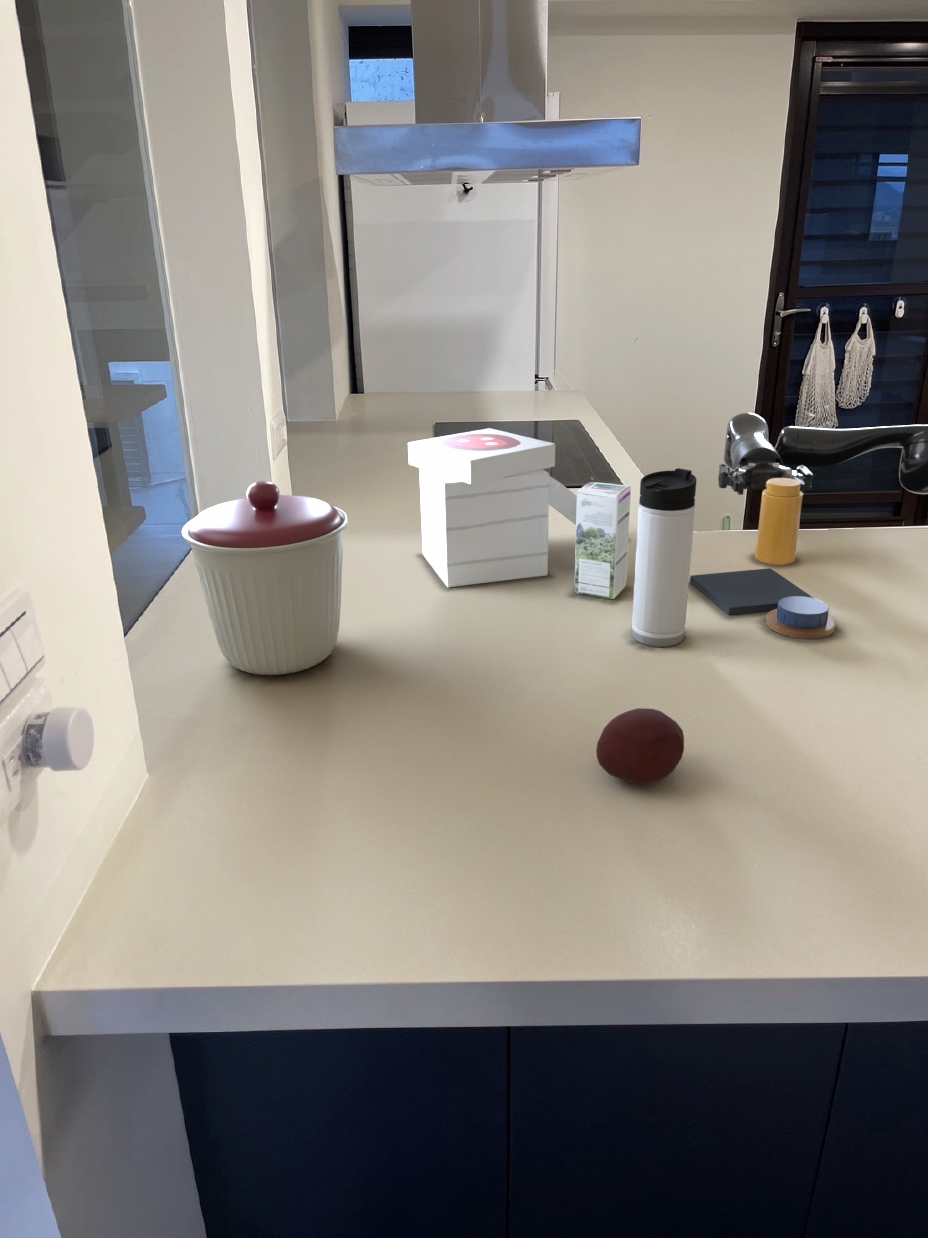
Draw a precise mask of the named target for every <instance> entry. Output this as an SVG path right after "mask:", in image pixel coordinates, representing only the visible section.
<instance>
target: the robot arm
mask: <svg viewBox="0 0 928 1238" xmlns="http://www.w3.org/2000/svg"><path fill="white" fill-rule="evenodd" d="M769 438H770V437H769V426H768V423H767V421H766V420H765V419H764V417H762V416H760V415H759V414H756V413H752V412H742V413H738V414H736V415H734V416H733V417H732V418H730V420H729V421H728V424H727V426H726V435H725V444H724V453H723V463H721V464H719V466H718V474H717V475H718V476H717V477H718V478H717V481H718V482H717V483H718V488H720V489H727V487H730V489H731V490H732V491H733V492H735V493H737V495H738V496H740V495H742V496H743V495H744V491H745V490H748V491H751V492H757V493H758V492H762V491H763V490H765V489H766V487H767V484H766V481H768V480H769V479H772V478H790V479H795V480H798V481H800V482H801V487H800V491H801V492H802V493H803V494H804V493H805V491H810V490H811V491H812V483H813V478H814V473H813V472H812V470H811V471H810V469H809V468H828V467H832V466H836V465H841V464H842V463H844V462H847V461H849V460H851V459H854V458H856V457H859V456H861V455H864V454H867V453H869V452H872V451H875V450H880V449H887V448H898V449H901V454H900V461H899V467H898V478H899V483H900V485H901V486H902V488H904V489H905V490H907V491H908V492H910V493H913V494H918V495H928V424H910V425H909V424H908V425H892V426H891V425H890V426H875V427H874V426H873V427H859V428H820V427H807V426H806V427H805V426H793V425H791V426H785V427H783V428H782V429H781V431H780V433H779V436H778V438H777V442H776V444H775V446H773V444H771V443H770V439H769ZM787 466H795V467H796V469H795V470H793V469H792V468H790V467H787Z"/></svg>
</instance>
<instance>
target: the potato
mask: <svg viewBox="0 0 928 1238" xmlns="http://www.w3.org/2000/svg"><path fill="white" fill-rule="evenodd" d="M684 751H685V735H684V731H683V729H682V728H681V726H680V725H679V724H678V722H677V720H675V719H673V718H671V717H670V716H669V715H667V714H665V713H664V712H663V711H661V710H658V709H655V708H647V707H646V708H645V707H644V708H643V707H641V708H639V707H638V708H633V709H630V710H627V711H625V712H622V713H620V714H618V715H616V716H615V717H614V718H612V719H611V720H610V721H609V722H608V723H607V724H605V726H604V727H603V729H602V731H601V734H600V736H599V738H598V740H597V743H596V750H595V752H596V758H597V762H598V765H599V766H600V767H601V768H602V769H603V770H604V771H605V772H606V773H607V774H608V775H609V776H612V777H614V778H617V779H619V780H622V781H624V782H625V781H626V782H629V783H633V784H644V785H645V784H649V783H654V782H658V781H661V780H663V779H665V778H667V777H669V776H670V775H671V774H672V773H673V772H674V771H675V769H676V768H677V767H678V765H679V763H680V762H681V760H682V759H683V755H684Z"/></svg>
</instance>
